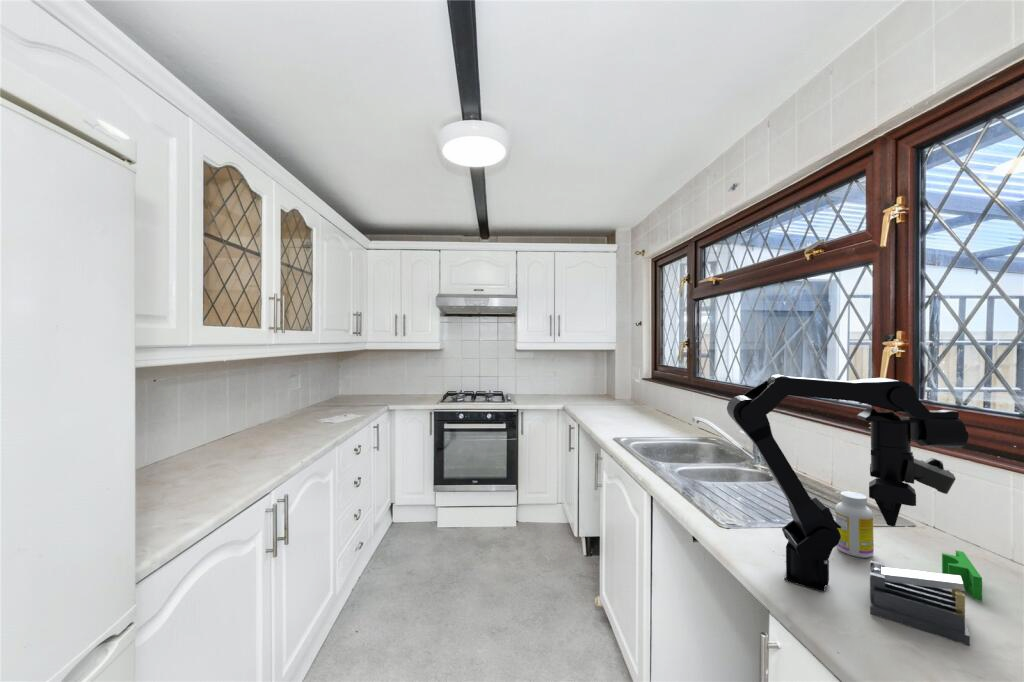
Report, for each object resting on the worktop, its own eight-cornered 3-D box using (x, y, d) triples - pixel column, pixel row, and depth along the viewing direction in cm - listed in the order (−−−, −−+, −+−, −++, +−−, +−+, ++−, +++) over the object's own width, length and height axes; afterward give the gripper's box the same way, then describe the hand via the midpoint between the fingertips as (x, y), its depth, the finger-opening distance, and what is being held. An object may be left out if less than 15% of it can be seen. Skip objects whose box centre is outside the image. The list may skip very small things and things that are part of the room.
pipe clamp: (938, 568, 89) (938, 546, 89) (963, 574, 87) (963, 551, 87) (953, 595, 80) (953, 571, 80) (982, 602, 77) (982, 577, 77)
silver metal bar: (872, 582, 77) (869, 571, 77) (872, 573, 79) (870, 563, 80) (966, 594, 69) (962, 582, 69) (962, 584, 72) (959, 573, 72)
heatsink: (870, 614, 75) (869, 575, 74) (870, 587, 82) (870, 553, 82) (969, 645, 67) (969, 602, 67) (960, 613, 74) (960, 575, 74)
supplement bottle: (874, 550, 96) (874, 494, 96) (872, 562, 91) (872, 503, 91) (837, 541, 101) (837, 487, 100) (834, 552, 96) (833, 495, 96)
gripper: (958, 463, 69) (959, 559, 69) (944, 440, 83) (945, 520, 83) (868, 452, 76) (869, 539, 76) (869, 433, 90) (870, 506, 90)
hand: (891, 525), depth 81 cm, fingers closed
